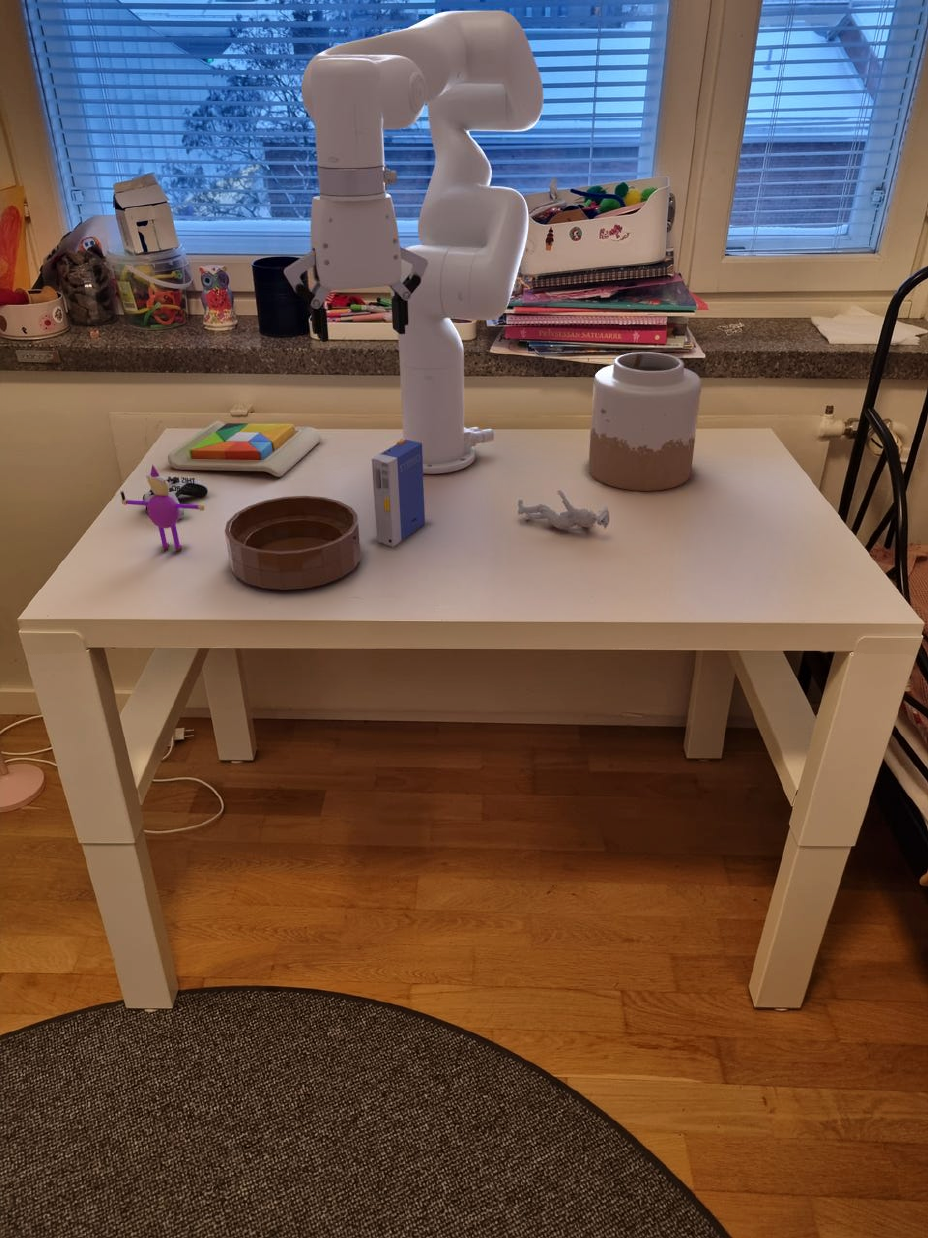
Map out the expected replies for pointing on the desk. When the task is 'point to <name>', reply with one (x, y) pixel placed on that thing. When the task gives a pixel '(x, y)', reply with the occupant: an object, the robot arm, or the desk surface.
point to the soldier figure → (565, 515)
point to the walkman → (398, 491)
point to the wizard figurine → (164, 505)
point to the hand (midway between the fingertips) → (361, 335)
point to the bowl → (293, 542)
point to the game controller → (181, 492)
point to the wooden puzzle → (245, 447)
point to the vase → (644, 422)
